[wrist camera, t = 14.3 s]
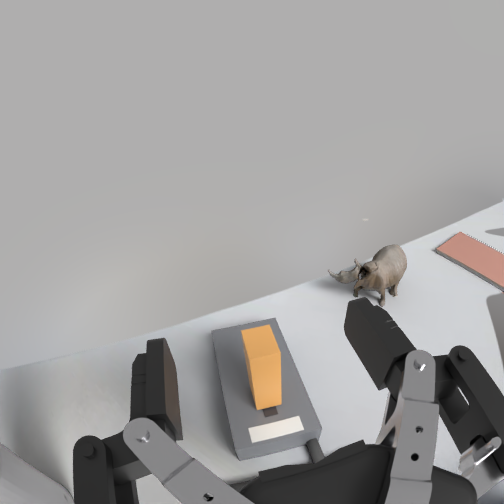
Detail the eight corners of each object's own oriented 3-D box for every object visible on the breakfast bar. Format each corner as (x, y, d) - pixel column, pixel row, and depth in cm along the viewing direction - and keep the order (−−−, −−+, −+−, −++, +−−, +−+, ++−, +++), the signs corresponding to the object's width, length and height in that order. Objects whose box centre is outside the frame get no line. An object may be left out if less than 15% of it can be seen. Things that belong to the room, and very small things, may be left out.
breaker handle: (256, 410, 32) (249, 359, 26) (249, 384, 35) (240, 330, 30) (281, 404, 32) (280, 352, 27) (272, 379, 35) (269, 324, 30)
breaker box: (239, 460, 29) (235, 449, 27) (215, 347, 46) (211, 330, 44) (318, 440, 31) (322, 427, 29) (275, 335, 48) (275, 317, 46)
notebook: (534, 277, 50) (537, 270, 49) (521, 306, 43) (525, 299, 42) (460, 235, 71) (461, 229, 70) (434, 254, 64) (436, 247, 63)
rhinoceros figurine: (428, 280, 52) (405, 230, 44) (382, 330, 53) (349, 291, 45) (403, 263, 58) (377, 216, 51) (360, 310, 59) (326, 270, 52)
